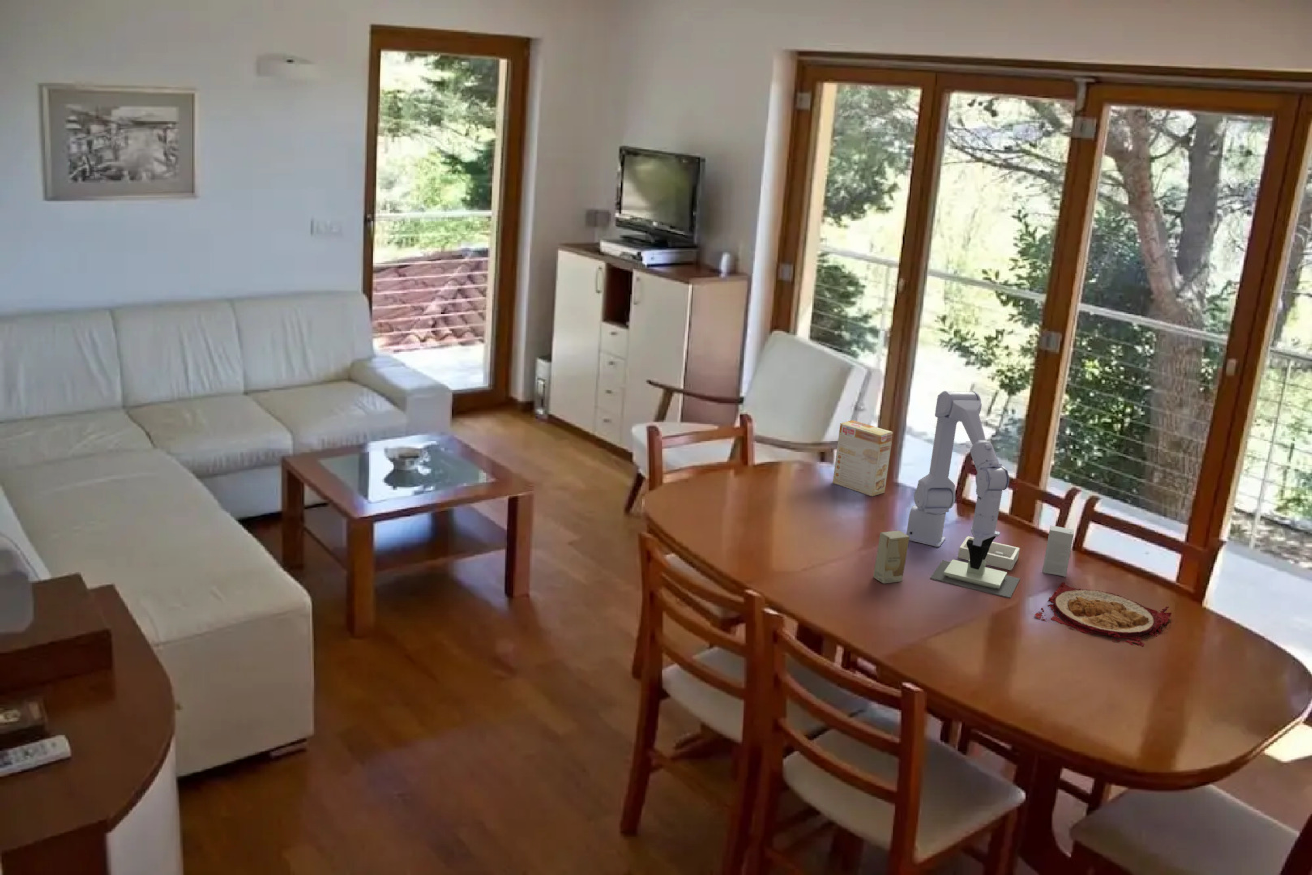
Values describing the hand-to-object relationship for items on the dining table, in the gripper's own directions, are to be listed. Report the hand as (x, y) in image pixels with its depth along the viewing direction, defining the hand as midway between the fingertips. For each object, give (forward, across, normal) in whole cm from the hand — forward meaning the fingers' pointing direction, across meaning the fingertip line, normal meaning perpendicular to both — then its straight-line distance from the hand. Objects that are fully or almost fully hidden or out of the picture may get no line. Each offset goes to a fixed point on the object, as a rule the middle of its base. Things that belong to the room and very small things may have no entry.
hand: (977, 563), depth 307 cm
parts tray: (+4, +17, 0) cm, 18 cm away
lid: (+3, 0, 0) cm, 3 cm away
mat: (+4, 0, 0) cm, 4 cm away
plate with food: (+5, -5, -32) cm, 33 cm away
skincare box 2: (+4, +18, -17) cm, 25 cm away
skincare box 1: (+4, -14, +19) cm, 24 cm away
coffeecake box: (+5, +51, +46) cm, 69 cm away
